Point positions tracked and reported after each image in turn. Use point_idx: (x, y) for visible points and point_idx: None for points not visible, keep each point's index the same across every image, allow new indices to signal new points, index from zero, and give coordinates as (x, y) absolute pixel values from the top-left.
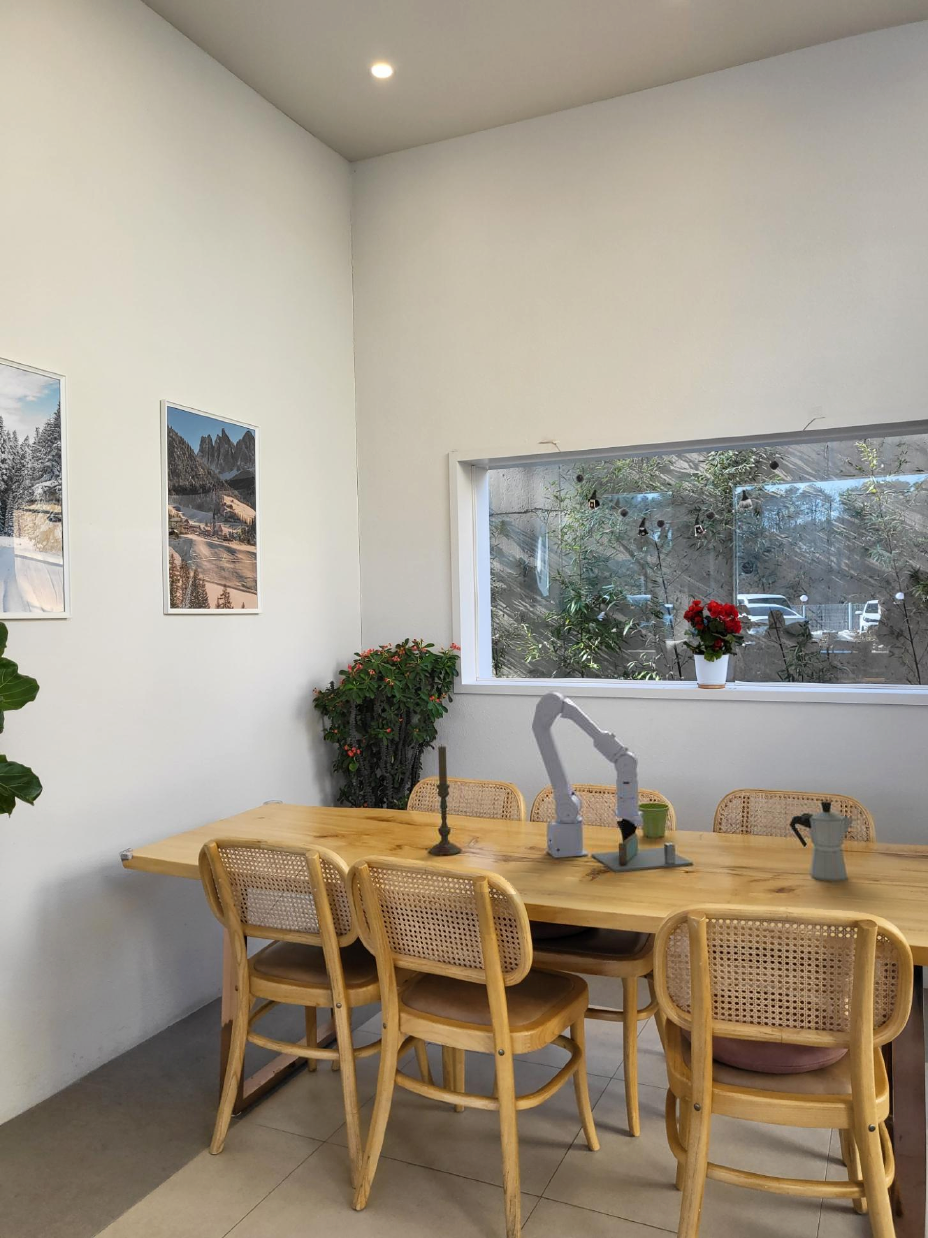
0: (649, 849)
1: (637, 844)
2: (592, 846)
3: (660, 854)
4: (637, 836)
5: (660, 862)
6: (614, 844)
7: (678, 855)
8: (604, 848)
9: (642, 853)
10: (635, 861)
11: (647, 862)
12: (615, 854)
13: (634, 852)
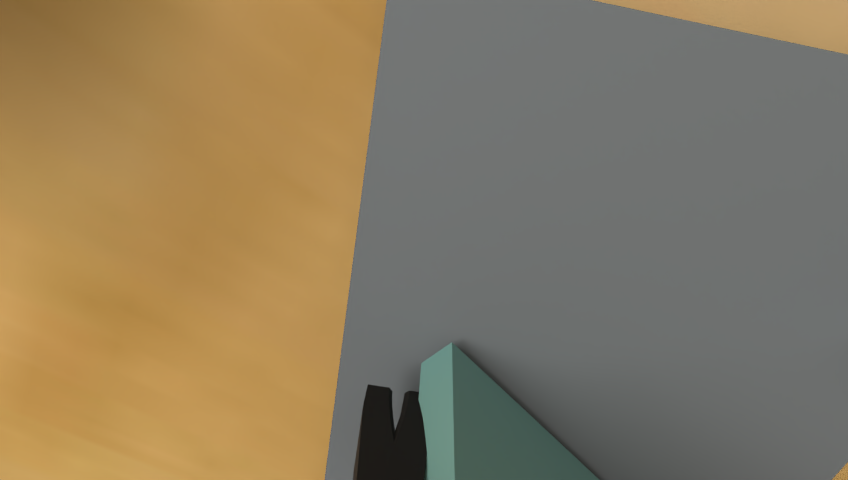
0: (395, 179)
1: (462, 400)
2: (61, 427)
3: (632, 206)
4: (459, 473)
5: (834, 363)
6: (18, 277)
7: (815, 55)
8: (142, 397)
9: (492, 317)
10: (656, 471)
11: (744, 430)
12: None
13: (536, 433)
